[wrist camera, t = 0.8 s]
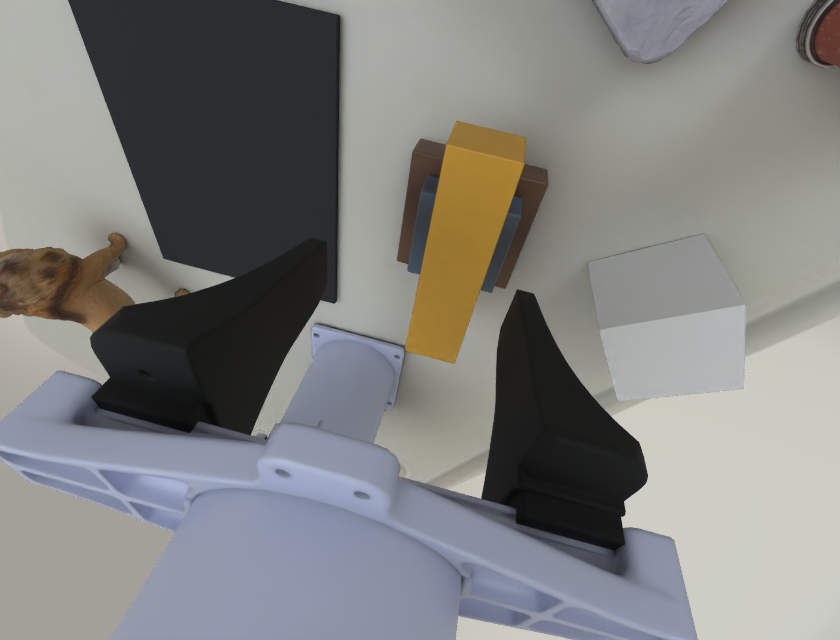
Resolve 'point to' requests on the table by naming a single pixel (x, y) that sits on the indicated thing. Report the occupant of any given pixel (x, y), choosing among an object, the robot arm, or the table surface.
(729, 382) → the white cube
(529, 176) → the brown blue stepped block
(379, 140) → the table surface
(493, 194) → the bar
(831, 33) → the lighter
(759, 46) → the table surface
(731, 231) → the table surface
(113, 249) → the lion figurine
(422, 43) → the table surface
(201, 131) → the mat
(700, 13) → the stone block
